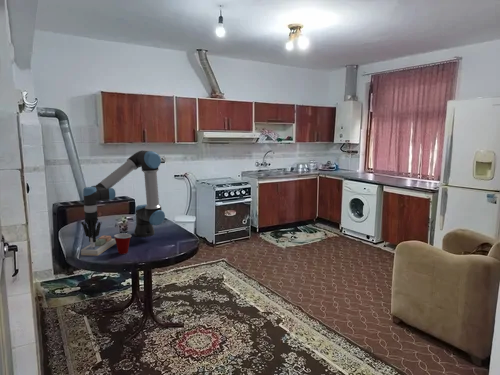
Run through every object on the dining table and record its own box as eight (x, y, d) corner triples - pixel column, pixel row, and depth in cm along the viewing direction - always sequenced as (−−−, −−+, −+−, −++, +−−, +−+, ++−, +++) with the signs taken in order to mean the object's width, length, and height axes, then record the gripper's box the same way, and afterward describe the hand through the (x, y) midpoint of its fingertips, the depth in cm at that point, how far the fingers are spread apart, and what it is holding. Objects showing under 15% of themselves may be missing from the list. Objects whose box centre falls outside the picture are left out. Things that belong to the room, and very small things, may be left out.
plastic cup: (135, 252, 226) (134, 235, 224) (120, 256, 218) (119, 238, 216) (126, 248, 233) (126, 231, 231) (111, 252, 225) (110, 235, 223)
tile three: (99, 249, 226) (99, 245, 226) (95, 252, 220) (94, 249, 220) (91, 249, 227) (90, 245, 226) (86, 252, 221) (85, 248, 220)
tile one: (111, 238, 242) (111, 235, 241) (107, 241, 236) (107, 238, 235) (103, 238, 242) (102, 235, 242) (98, 241, 236) (98, 237, 236)
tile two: (105, 242, 234) (105, 239, 233) (101, 245, 228) (101, 241, 228) (97, 242, 234) (97, 238, 234) (92, 244, 228) (92, 241, 228)
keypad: (116, 243, 244) (115, 238, 243) (97, 255, 219) (97, 250, 218) (101, 242, 244) (100, 237, 244) (81, 254, 220) (80, 249, 219)
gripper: (103, 210, 222) (105, 245, 226) (84, 209, 223) (86, 244, 227) (97, 213, 215) (99, 249, 219) (77, 212, 216) (80, 248, 220)
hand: (92, 246), depth 223 cm, fingers closed
